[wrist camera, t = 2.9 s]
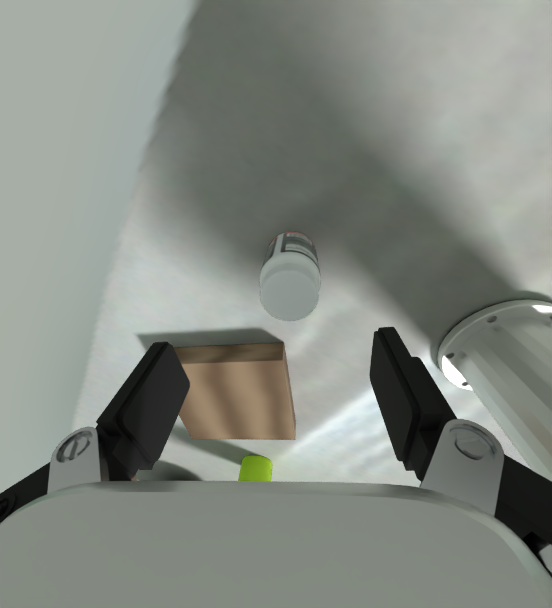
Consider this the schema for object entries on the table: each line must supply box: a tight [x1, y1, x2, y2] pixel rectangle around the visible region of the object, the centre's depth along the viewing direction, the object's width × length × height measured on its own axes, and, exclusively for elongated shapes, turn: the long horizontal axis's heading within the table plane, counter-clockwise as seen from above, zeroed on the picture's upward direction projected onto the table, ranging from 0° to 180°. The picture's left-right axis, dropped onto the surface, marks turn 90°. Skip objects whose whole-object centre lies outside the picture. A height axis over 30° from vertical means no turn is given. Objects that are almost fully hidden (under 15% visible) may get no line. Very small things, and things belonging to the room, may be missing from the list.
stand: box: [174, 343, 296, 440], centre depth 33 cm, size 16×16×3 cm
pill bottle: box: [259, 232, 321, 321], centre depth 20 cm, size 5×5×8 cm
